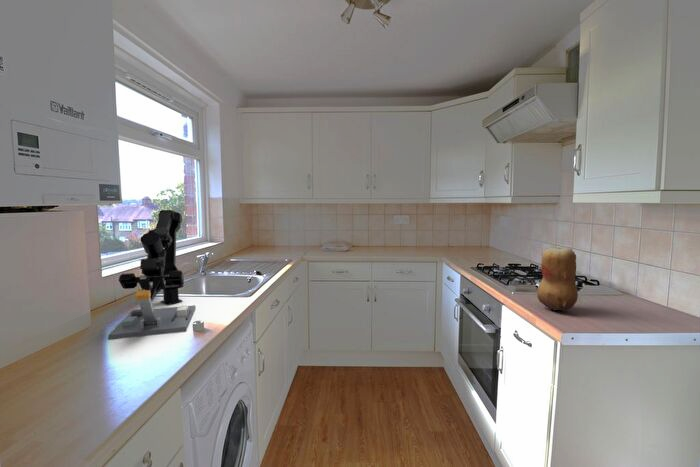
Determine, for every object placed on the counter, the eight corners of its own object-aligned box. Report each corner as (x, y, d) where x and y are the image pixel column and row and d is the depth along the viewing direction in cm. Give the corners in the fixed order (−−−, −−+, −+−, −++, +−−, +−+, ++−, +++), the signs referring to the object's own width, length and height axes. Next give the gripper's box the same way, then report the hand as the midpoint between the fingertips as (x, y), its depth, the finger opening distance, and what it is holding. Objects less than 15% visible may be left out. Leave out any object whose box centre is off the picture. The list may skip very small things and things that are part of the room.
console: (132, 314, 128) (131, 304, 127) (195, 308, 134) (195, 299, 134) (108, 339, 105) (107, 327, 105) (186, 331, 112) (185, 319, 111)
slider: (177, 315, 123) (177, 308, 122) (187, 314, 123) (186, 307, 123) (176, 317, 121) (176, 310, 120) (186, 316, 122) (185, 309, 121)
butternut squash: (529, 305, 139) (533, 245, 137) (562, 304, 139) (565, 244, 137) (550, 316, 125) (554, 250, 123) (586, 316, 126) (590, 249, 123)
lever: (146, 322, 113) (136, 291, 103) (158, 321, 114) (150, 290, 104) (144, 327, 111) (134, 296, 102) (157, 326, 112) (148, 294, 103)
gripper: (118, 250, 111) (108, 291, 102) (181, 247, 117) (176, 287, 107) (127, 268, 119) (119, 308, 110) (185, 265, 125) (182, 303, 116)
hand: (149, 301), depth 111 cm, fingers closed
